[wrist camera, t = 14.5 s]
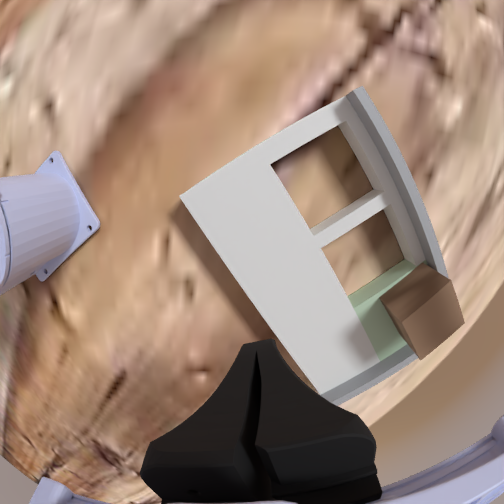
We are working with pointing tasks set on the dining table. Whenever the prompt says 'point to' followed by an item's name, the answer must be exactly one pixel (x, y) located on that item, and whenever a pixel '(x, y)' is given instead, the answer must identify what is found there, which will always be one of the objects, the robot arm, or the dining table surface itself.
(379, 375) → the board
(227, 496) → the robot arm
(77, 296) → the dining table surface
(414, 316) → the walnut block
